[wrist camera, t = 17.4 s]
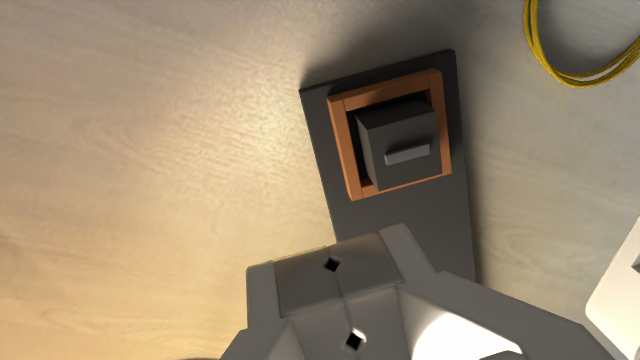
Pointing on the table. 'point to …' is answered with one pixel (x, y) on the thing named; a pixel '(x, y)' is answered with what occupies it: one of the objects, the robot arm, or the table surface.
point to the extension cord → (565, 77)
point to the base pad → (409, 199)
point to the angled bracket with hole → (620, 297)
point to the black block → (399, 142)
